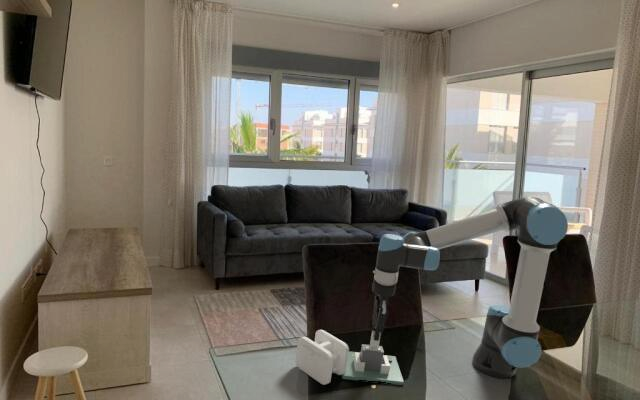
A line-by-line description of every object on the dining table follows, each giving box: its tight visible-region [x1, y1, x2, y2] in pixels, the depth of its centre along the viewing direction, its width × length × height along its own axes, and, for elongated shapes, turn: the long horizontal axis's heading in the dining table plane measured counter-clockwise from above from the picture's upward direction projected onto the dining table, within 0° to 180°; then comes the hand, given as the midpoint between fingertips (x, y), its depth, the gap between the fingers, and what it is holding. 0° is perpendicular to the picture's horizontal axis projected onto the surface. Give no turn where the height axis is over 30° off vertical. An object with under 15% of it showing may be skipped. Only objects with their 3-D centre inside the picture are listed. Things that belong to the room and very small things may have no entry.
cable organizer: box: [294, 329, 350, 386], centre depth 160 cm, size 15×11×12 cm
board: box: [341, 350, 405, 386], centre depth 167 cm, size 20×16×4 cm
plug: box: [359, 343, 385, 371], centre depth 165 cm, size 7×4×8 cm, turn 92°
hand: (374, 347), depth 165 cm, fingers closed
